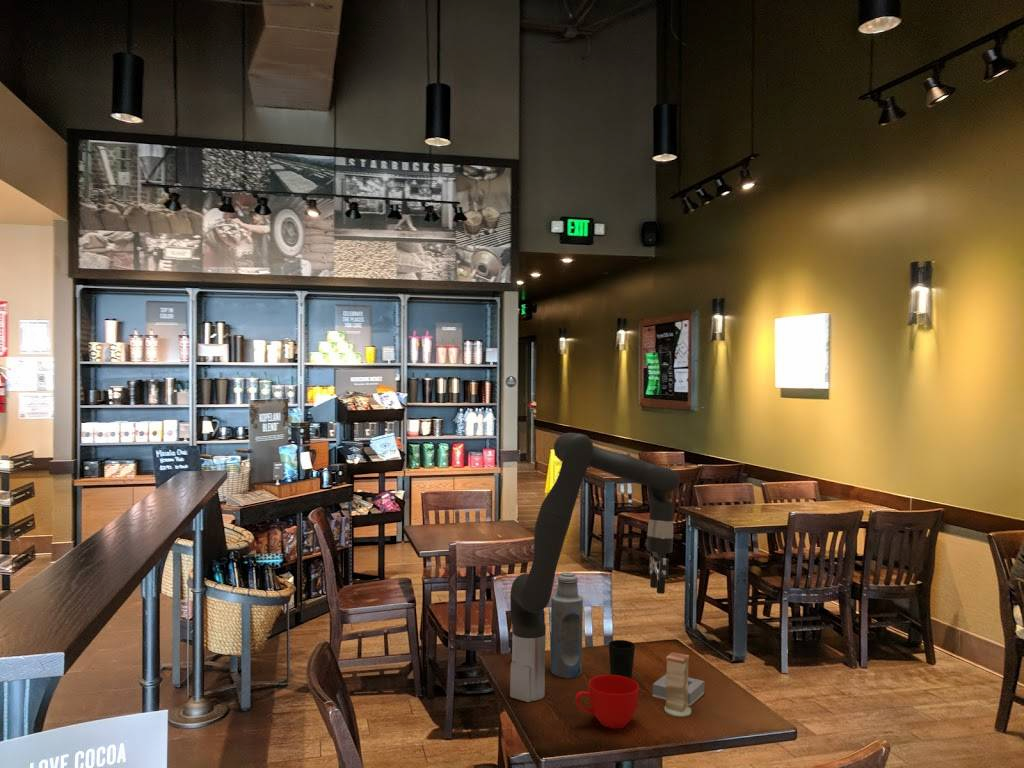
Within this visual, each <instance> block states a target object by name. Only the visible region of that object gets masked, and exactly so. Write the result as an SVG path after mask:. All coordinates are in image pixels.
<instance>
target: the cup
mask: <svg viewBox="0 0 1024 768" xmlns="http://www.w3.org/2000/svg"><path fill="white" fill-rule="evenodd" d="M635 649H636V645H635V643H634V642H632V641H630V640H625V639H614V640H611V641H609V642H608V654H609V669H610V675H619V676H624V677H627V678H630V679H632V678H633V668H634V659H635V651H636V650H635ZM632 680H633V679H632Z"/></svg>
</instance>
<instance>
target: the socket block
mask: <svg viewBox="0 0 1024 768" xmlns="http://www.w3.org/2000/svg"><path fill="white" fill-rule="evenodd" d="M666 679H667V673H665V674H664V675H662V677H660V678H659V679H657V680H656V681H655V682H654V683H652V697H653V698H658V699H662V700H665V701H666ZM704 694H705V681H704V680H701V679H697V678H692V677H689V676H688V707H691V706H692V705H693V704H694V703H695V702H697V701H698V700H699V699H700V698H701V697H702V696H703V695H704Z"/></svg>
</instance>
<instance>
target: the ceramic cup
mask: <svg viewBox="0 0 1024 768" xmlns="http://www.w3.org/2000/svg"><path fill="white" fill-rule="evenodd" d="M639 694H640V685H639V683H638V682H637V681H636V680H634V679H630V678H627V677H624V676H619V675H611V674H603V675H597V676H594V677H592V678H590V680H589V681H588V691H584V690H581V691H578V692H577V694H576V695H575V699H574V700H575V704H576V706H577V707H578V708H579V709H580V710H581V711H584V712H586V713H589V714H593V715H594V716H595V718H596V720H598V721H599V722H600V723H599V724H600V725H602V726H603V725H604V726H603V727H605V728H607V727H609V729H613V728H614V730H615V729H616V728H619V729H622V728H625V727H626V725H628V723H630V721H631V720H632V719H633V717H634V716H635V714H636V711H637V708H638V705H639ZM584 695H585V696H587V697H588V698H589V703H590V707H591V708H587V707H584V706H582V705H581V703H580V702H579V701H580V700H579V699H580V697H581V696H584ZM616 730H617V729H616Z"/></svg>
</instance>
